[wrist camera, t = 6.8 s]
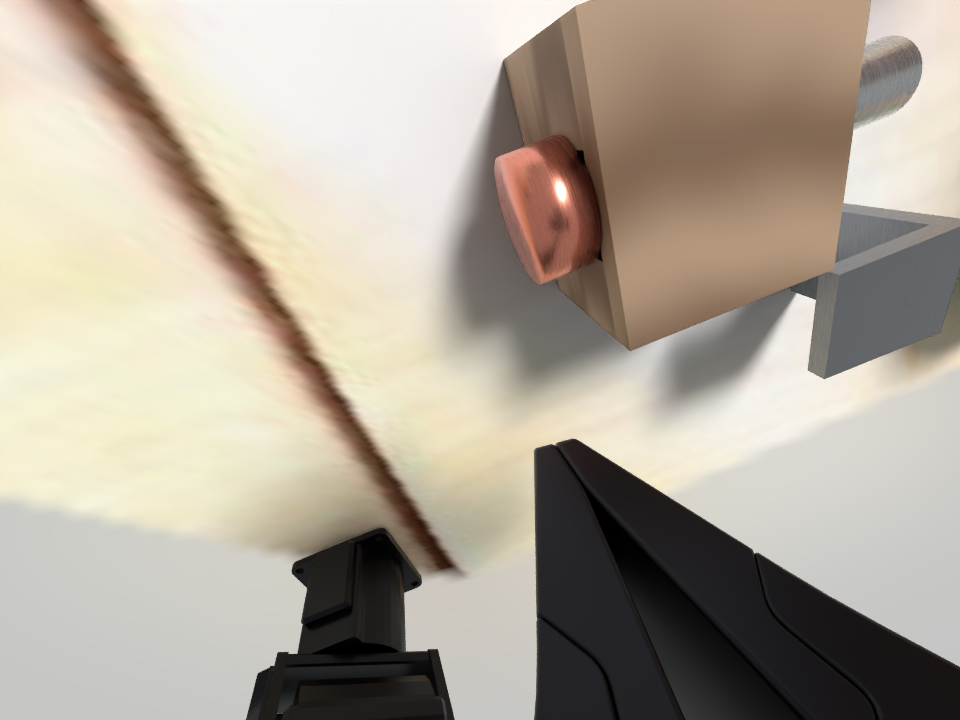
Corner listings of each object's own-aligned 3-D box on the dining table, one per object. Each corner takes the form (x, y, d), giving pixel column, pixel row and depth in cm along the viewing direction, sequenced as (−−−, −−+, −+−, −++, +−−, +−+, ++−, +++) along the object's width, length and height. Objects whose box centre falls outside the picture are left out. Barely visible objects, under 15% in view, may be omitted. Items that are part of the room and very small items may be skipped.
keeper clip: (803, 285, 23) (940, 332, 18) (716, 320, 23) (824, 379, 18) (812, 199, 21) (974, 220, 15) (714, 238, 21) (839, 274, 15)
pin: (815, 147, 18) (938, 148, 14) (518, 266, 18) (555, 302, 14) (827, 18, 15) (980, -25, 11) (485, 154, 15) (518, 159, 11)
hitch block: (703, 232, 21) (834, 269, 15) (559, 290, 21) (630, 351, 14) (694, -16, 16) (887, -118, 10) (503, 59, 16) (575, 6, 9)
